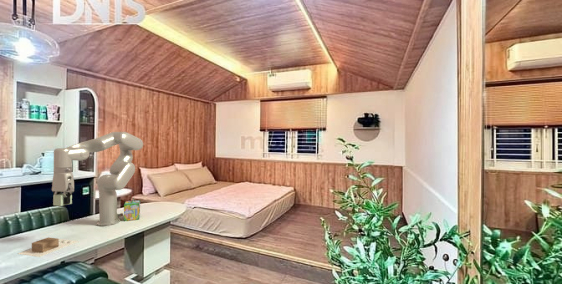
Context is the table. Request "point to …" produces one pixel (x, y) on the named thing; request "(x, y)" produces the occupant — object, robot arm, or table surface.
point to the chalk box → (132, 210)
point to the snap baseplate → (62, 244)
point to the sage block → (60, 199)
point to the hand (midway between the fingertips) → (62, 203)
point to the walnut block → (45, 244)
